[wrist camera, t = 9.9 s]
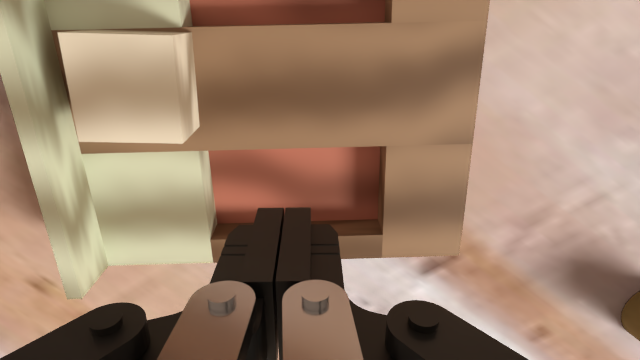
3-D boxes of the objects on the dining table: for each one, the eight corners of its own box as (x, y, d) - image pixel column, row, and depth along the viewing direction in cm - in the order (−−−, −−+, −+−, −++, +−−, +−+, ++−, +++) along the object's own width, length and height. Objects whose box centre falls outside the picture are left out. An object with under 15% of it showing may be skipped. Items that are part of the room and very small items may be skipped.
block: (93, 29, 26) (57, 32, 22) (191, 32, 26) (172, 35, 22) (109, 124, 28) (78, 141, 24) (199, 126, 28) (182, 143, 24)
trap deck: (24, -130, 25) (-75, -180, 19) (486, -138, 26) (547, -189, 19) (112, 245, 35) (67, 299, 28) (447, 236, 35) (478, 286, 29)
